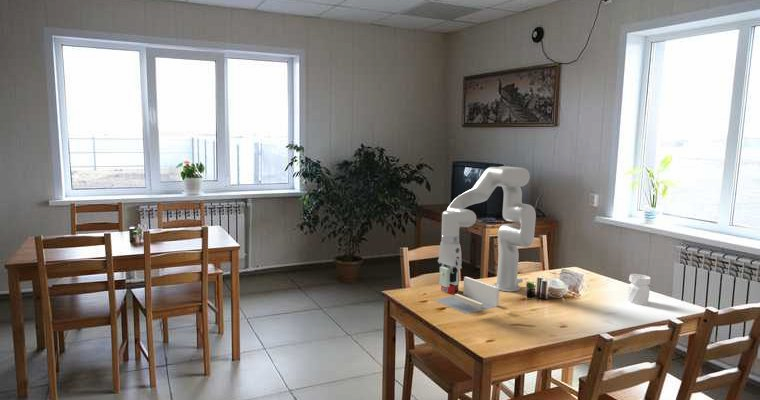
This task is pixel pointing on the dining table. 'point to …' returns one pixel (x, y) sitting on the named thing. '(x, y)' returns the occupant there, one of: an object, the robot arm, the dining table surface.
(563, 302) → the dining table surface
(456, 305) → the cleat board
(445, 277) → the cabinet block
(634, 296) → the white lidded jar
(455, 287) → the canned food
